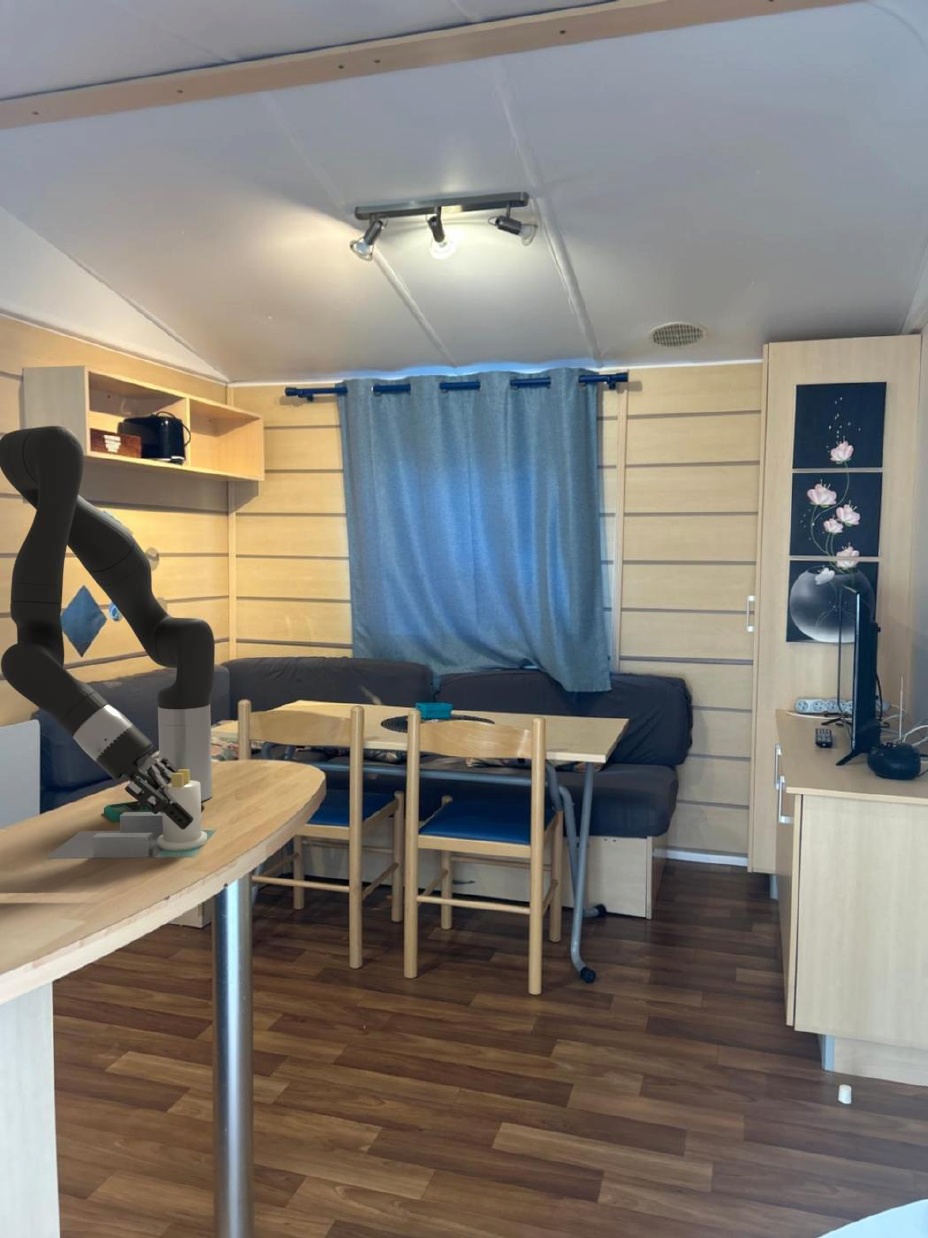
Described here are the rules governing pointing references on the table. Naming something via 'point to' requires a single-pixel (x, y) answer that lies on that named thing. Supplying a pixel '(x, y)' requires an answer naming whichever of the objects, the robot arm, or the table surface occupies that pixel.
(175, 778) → the plug
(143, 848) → the housing
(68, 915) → the table surface
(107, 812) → the digital multimeter
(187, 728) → the robot arm
